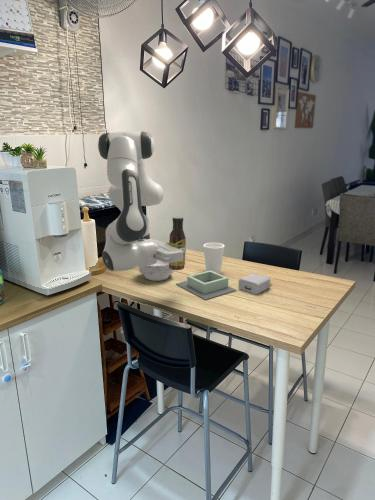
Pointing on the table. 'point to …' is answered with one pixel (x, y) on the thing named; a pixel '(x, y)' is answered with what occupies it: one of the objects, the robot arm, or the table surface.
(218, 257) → the foam cup
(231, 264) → the table surface
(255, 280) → the charger
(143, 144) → the robot arm
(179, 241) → the sauce bottle
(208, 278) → the bottle holder
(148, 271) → the paper bowls
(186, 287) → the mat
